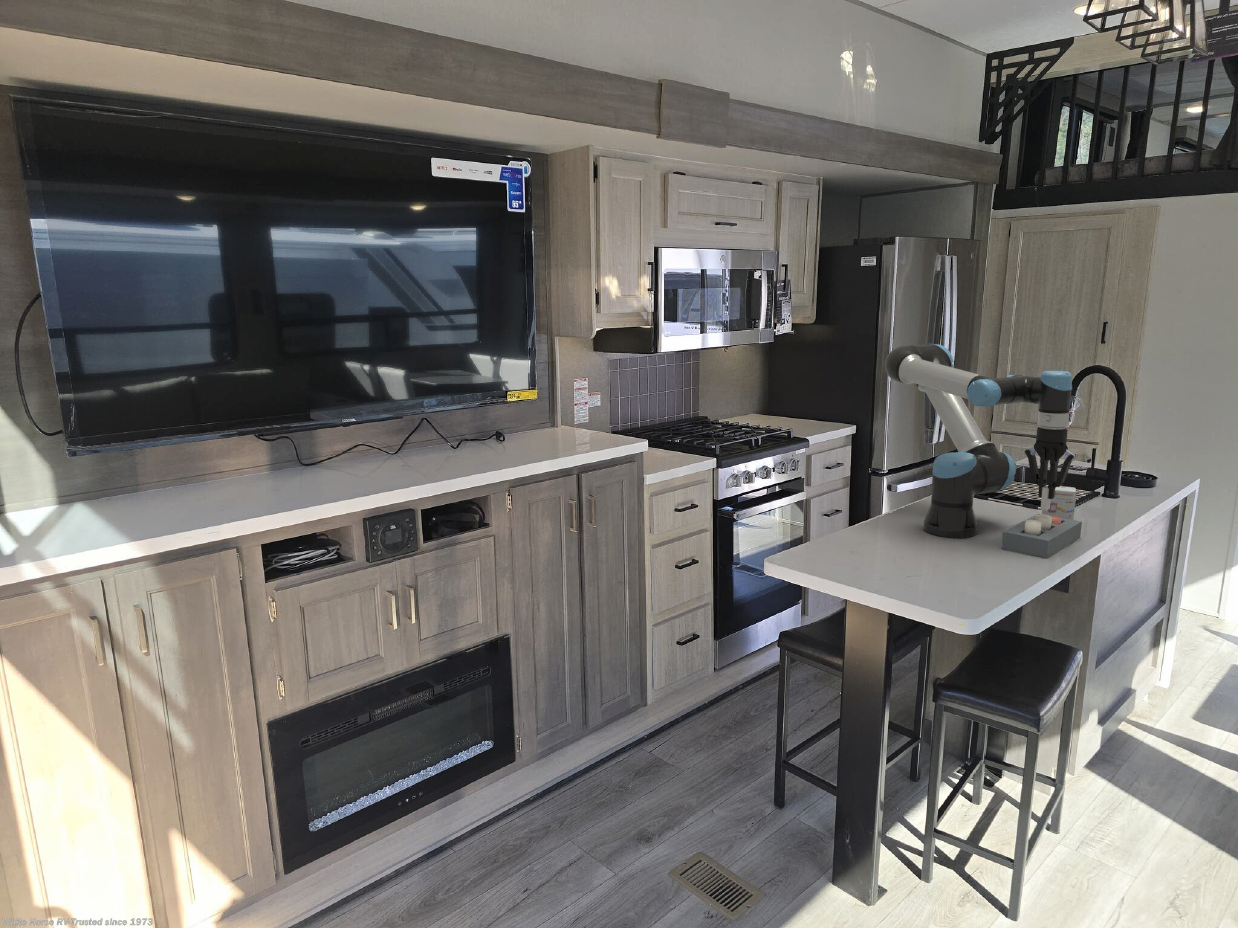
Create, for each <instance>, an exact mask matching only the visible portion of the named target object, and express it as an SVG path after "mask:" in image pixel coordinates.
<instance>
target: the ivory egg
mask: <svg viewBox="0 0 1238 928" xmlns="http://www.w3.org/2000/svg"><path fill="white" fill-rule="evenodd" d="M1025 520H1026V521H1025ZM1025 520H1024V521H1025V531H1024V533H1026V534H1031V535H1036V536H1039V535H1040V534H1041V523H1042V522H1040V521H1037V520H1027V519H1025Z"/></svg>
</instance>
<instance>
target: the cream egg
mask: <svg viewBox="0 0 1238 928" xmlns="http://www.w3.org/2000/svg"><path fill="white" fill-rule="evenodd" d="M1039 514H1040V515H1037V514H1035V515H1036V520H1037V521H1040V522H1042V523H1041V529H1045V530H1050V529H1051V522H1052V517H1051V516H1049V515H1042V513H1039Z"/></svg>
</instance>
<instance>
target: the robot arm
mask: <svg viewBox="0 0 1238 928" xmlns="http://www.w3.org/2000/svg"><path fill="white" fill-rule="evenodd" d="M953 362H954V358H953V356H952V352H950V350H949V349H948V348H947V347H945V346H944V345H942V344H938V343H937V344H936V343H935V344H934V343H925V344H918V345H917V344H916V345H913V344H912V345H900V346H898V347H895V348H894V349H892V350H891V351H890V352H889V353H888V354H887V355H886V357H885V360H884V370H885V373H886V374H887V376H888V377H889V378H890V379H892V380H893V381H895V382H898V383H902V384H905V385H912V384H915V385H916V387H917V388H916V389H918V391H920V392H923V393H925V394H926V396H927V397H928V400H929V401H930V403H931V404H932V407H933V408H934V410H935V412H936V414H937V415H938V416H939V419H940V421H941V423H942V424H943V427H944V428H945V430H946V432H947V434H948V435H949V437H950V439H951V441H952V443H953V445H954V446H955V448H956V450H957V452H953V451H952V452H946V453H943V454H940V455H938V456H936V457H935V459H934V461H933V467H932V471H931V472H932V476H931V477H932V481H931V495H930V496H931V498H930V499H931V501H930V505H929V508H928V511H927V513H926V515H925V517H924V520H923V527H922V528H923V530H924V531H925V532H927V533H929V534H930V535H935V536H937V537H939V536H940V537H944V538H955V539H956V538H959V539H961V538H971V537H974V536H976V535H977V534H978V529H979V526H978V522H977V519H976V515H975V512H974V508H973V507H974V505H973V504H974V495H980V494H987V493H997V492H998V491H1003V490H1005V489H1007V488H1009V487H1010V486H1011V484H1012V483H1013V482H1014V480H1015V475H1016V473H1017V471H1016V469H1017V468H1016V464H1015V461H1014V459H1013V458H1012V456H1011V455H1010V454H1008V453H1005V452H1003V451H999V450H998V448H997V447H996V444H995V443H994V442H993V441H988V440H987V439H986V438H985V436H984V434H983V433H982V430H981V429H980V427H979V426H978V424H977V422H976V420H975V419H974V416H973V415H972V413H971V412H970V410H969V408H968V407H967V405H966V402H964V399H966V400H968V401H969V402H970V403H971V404H972V405H974V406H976V407H983V408H984V407H986V408H987V407H993V406H1000V405H1009V404H1010V405H1011V404H1019V403H1025V404H1026V403H1028V404H1035V405H1038V413H1037V426H1038V427H1036V434H1035V435H1036V438H1035V443H1034V444H1033V447H1031V448H1027V449H1025V450H1024V454H1025V455H1026V457H1027V459H1028V460H1027V461H1028V465H1029V471H1030V478H1031V483H1032V484H1035V485H1037V486H1038V494H1037V496H1038V498H1040V499H1041V500H1040V510H1041V511H1042V510H1045V511H1047V510H1048V509H1050V502H1051V499H1053V498H1054V497H1055V488H1056V487H1060V486H1063V485H1064V483H1065V480H1066V478H1067V476H1068V473H1069V470H1070V467H1071V464H1072V463H1073V461H1074V459H1075V458H1076V457H1077V454H1076V453H1072V452H1071V451H1069V450H1068V449H1069V447H1068V445H1067V441H1068V433H1069V432H1068V431H1069V430H1068V428H1067V427H1068V426H1069V419H1070V404H1071V396H1072V390H1073V384H1072V383H1073V375H1072V373H1071V372H1070V371H1065V370H1044V371H1043V372H1042V373H1041V376H1040V377H1039V376H1030V375H1023V374H1009V375H1007V376H1006V377H996V378H995V377H994V378H993V377H989V376H985V375H982V374H978V373H975V372H971V371H967V370H963V369H959V368H955V367H954V364H953ZM1037 456H1039V463H1040V465H1039V468H1038V461H1037ZM1063 456H1064V461H1063V463H1062V465H1061V468H1060V471H1059V473H1058V469H1059V468H1058V467H1059V463H1060V459H1061V458H1062V457H1063ZM1048 468H1049V469H1048ZM1048 470H1049V472H1048ZM1048 473H1049V474H1048ZM1048 475H1049V476H1048ZM1047 480H1048V482H1047ZM1046 485H1048V486H1046Z"/></svg>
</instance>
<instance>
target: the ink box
mask: <svg viewBox="0 0 1238 928" xmlns="http://www.w3.org/2000/svg"><path fill="white" fill-rule="evenodd" d="M1046 486H1048V484H1047V485H1046ZM1076 499H1077V489H1076V487H1071V486H1063V485H1062V486H1060V487H1056V488H1055V497H1054V498H1053V499H1051V502H1050V509H1048V510H1047V511H1045V510H1041V514H1042V515H1049V516H1057V517H1060V518H1065V519H1070V520H1075V519H1074V516H1075V507H1076Z"/></svg>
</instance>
